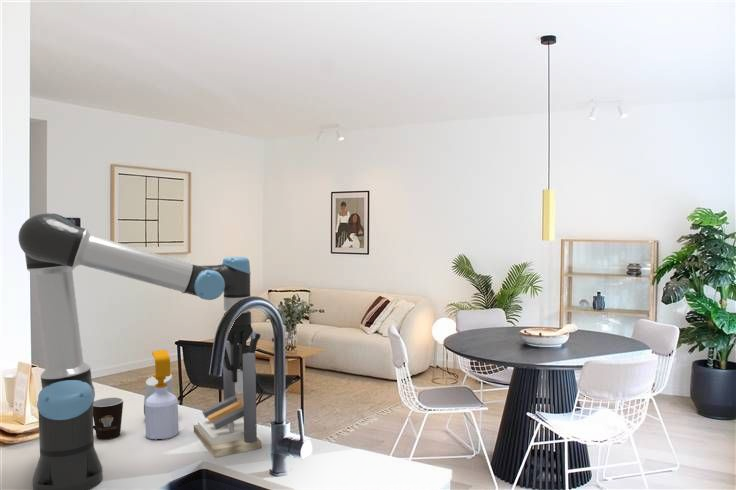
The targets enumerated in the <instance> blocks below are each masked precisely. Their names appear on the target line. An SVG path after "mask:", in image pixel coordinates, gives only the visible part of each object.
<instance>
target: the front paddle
mask: <svg viewBox="0 0 736 490" xmlns="http://www.w3.org/2000/svg"><path fill="white" fill-rule="evenodd" d="M239 418H244V407H242V408H240V409H238V410H236V411H234V412H232V413H230V414H228V415H226V416H224V417H222V418H220V419H218V420H216V421H214V422H212V423H213V425H214V428H215V429H216V430H218V429H220V428H221V427H223V426H225V425H227V424H229V423H231V422H233V421H235V420H237V419H239Z"/></svg>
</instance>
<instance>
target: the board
mask: <svg viewBox="0 0 736 490" xmlns="http://www.w3.org/2000/svg"><path fill="white" fill-rule="evenodd" d="M193 432H194V434H195V436H197V438H198V439H199V441H200V442H201V443H202V444H203V446H204V447H205V448H206V450H208V452H209V453H210V454H211V455H212V457H213V458H217V457H224V456H229V455H232V454H238V453H244V452H248V451H253V450H259V449H261V448H262V440H261V439H260V438H259V437H258V436H257V441H256V442H253V443H246V442H244V439H242V440H237V441H232V442H227V443H222V444H217V445H212V444H211V443H210V442H209V441H208V440H207V438H206V437H205V436H204V435H203V434H202V432H201V431H200V430H199V429H198V424H193Z"/></svg>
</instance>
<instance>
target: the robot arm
mask: <svg viewBox="0 0 736 490" xmlns="http://www.w3.org/2000/svg"><path fill="white" fill-rule="evenodd" d="M17 238H18V243H19V246H20V249H21V250H22V251H23V253H24V257H25V262H26V263H25V264H26V270H27V271H28V272H30V273H31V274H32V275H34V278H35V279H34V280H35V281H34V282H35V287H36V295H37V305H38V312H39V319H40V320H39V321H40V328H41V336H42V337H41V338H42V342H43V352H44V361H45V368H44V370H43V371H42V373H41V374H40V382H41V383H40V384H41V390H40V391H39V394H38V397H37V403H36V408H37V410H38V413H37V414H38V437H39V441H38V442H39V457H38V461H37V464H36V467H35V471H34V474H33V477H32V482H31V483H32V485H31V486H32V490H89V489H91V488H94V487H95V486H97V485H99V484H100V483H101V482H102V480H103V477H104V474H103V472H104V471H103V466H102V463H101V461H100V459H99V456H98V454H97V451H96V449H95V443H94V442H95V441H94V440H95V439H94V437H95V436H94V428H93V426H94V419H93V403H94V401H95V398H96V394H95V393H96V391H95V387H94V384H93V378H92V370H91V366H90V365H89V364H87V363H86V362H85V361H84V357H83V350H82V348H83V347H82V342H81V333H80V332H81V331H80V326H79V325H80V324H79V318H78V317H79V316H78V306H77V300H76V291H75V283H74V275H73V271H74V269H75V268H77V267H79V266H83V267H87V268H91V269H94V270H98V271H103V272H106V273H110V274H113V275H118V276H120V277H121V276H122V277H125V278H129V279H132V280H136V281H141V282H143V283H147V284H151V285H154V286H159V287H161V288H162V287H163V288H166V289H170V290H174V291H178V292H181V293H182V294H188V295H192V296H196V297H199V298H200V299H202V300H206V301H212V300H215V299H218V298H219V297H221V296H222V294H223V310H224V311H225V312H224V313H223V316H224V315H225V313H226V312H227V311H228V310H229V308H231V306H232V305H234V304H235V303H236V302H238V301H240V300H242V299H244V298H248V297H251V265H250V260H249V258H248V257H246V256H230V257H229V256H228V257H227V256H226V257H224V258H223V260H222V263H221V264H217V265H215V264H213V265H197V264H196V265H195V264H192V263H190V262H186V261H182V260H180V259H175V258H172V257H168V256H167V255H166V256H165V255H162V254H158V253H155V252H152V251H149V250H148V251H147V250H145V249H141V248H137V247H134V246H130V245H127V244H123V243H120V242H117V241H114V240H110V239H106V238H102V237H100V236H96V235H92V234H91V233H90V232H89V230H88V229H87V228H85V227H80V226H78V225H75V224H72V223H71V221H70V220H69V219H68V218H66V217H65V216H63V215H60V214H58V213H53V212H52V213H49V212H48V213H47V212H46V213H39V214H36V215H33V216H31V217H29V218H27V219H26V220H25V221H24V222H23V224H22V225H21V227H20V229H19V231H18V237H17ZM250 310H251V309H249V310H247V311H245V312H243V313H242V314H241V315H240V316H239V317H238V318H237V319H236V320H235V322H234V324H233V326H232V328H231V330H230V333H229V336H228V340H227V341H229V342H230V347H231V365H230V361H229V357H228V353H227V350H225V357H224V366H225V368H226V369H227V370H231V373H232V382H234V383H235V394H237V395H243V354H244V353H255V354H256V350H257V345H258V342H259V340H260V339H261V334H260V333H258V332H255V331H254V330H253V327H252V312H251V311H250ZM249 338H250V341H249V346H248V351H247V342H248V340H249ZM238 348H239V350H238ZM238 352H239V355H238ZM238 357H239V369H238Z"/></svg>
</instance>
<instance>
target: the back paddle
mask: <svg viewBox="0 0 736 490" xmlns="http://www.w3.org/2000/svg"><path fill="white" fill-rule="evenodd" d="M237 401H238V398H237V397H236V395H235V396H232V397H230V398H228V399H226V400H224V399H223V400H222V401H220V402H218V403H215V404H214V405H211V406H210V407H207V408H206V409H203V410H202V414H203V416H204V418H205V419H208V418H207V416H209V415H211V414H213V413H215V412H217V411H219V410H221V409H223V408H225V407H227V406H229V405H231V404H233V403H235V402H237Z"/></svg>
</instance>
